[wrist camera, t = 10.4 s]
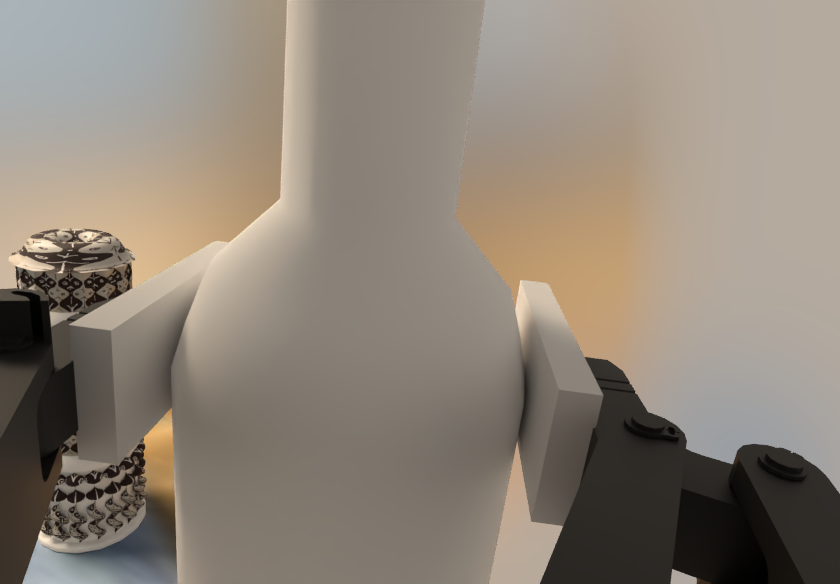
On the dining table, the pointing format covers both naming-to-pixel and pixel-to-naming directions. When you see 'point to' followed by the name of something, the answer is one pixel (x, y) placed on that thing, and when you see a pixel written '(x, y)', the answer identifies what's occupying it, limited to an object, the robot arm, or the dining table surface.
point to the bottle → (353, 329)
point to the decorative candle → (79, 479)
